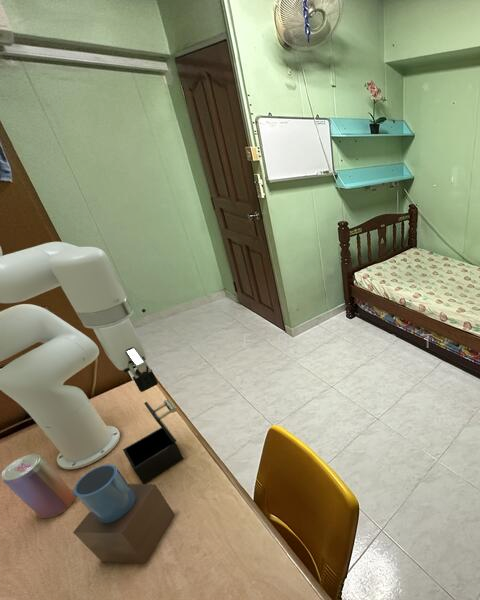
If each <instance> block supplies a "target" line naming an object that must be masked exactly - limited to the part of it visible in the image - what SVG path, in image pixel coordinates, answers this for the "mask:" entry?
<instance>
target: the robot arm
mask: <svg viewBox="0 0 480 600" xmlns="http://www.w3.org/2000/svg"><path fill="white" fill-rule="evenodd" d="M58 287H61V289H62V292H64V294H65V296H66V298H67V299H68V301H69V303H70V305H71V306H72V308H73V310H74V312H75V313H76V315H77V317H78V318H79V320H80V322H81V324H82V325H83V327H84V328H87V329H92V330H93V332H94V334H95V335H96V338H97V339H98V341H99V343H100V345H101V347H102V349H103V351H104V353H105V354H106V356H107V358H108V359H109V360H110V362H111V363H112V364H113V365H114V366H115V367H116V369H118V371H123V372H124V373H128V372H130V373H131V374H132V379H133V381H134V383H135V385H136V387H137V388H138V390H139V392H140V393H144V392H145V391H148V390H149V389H152V388H153V387H156V386H157V385H158V384H159V382H158V380H157V378H156V375H155V373H154V372H153V370H152V369H151V367H150V366H149V364H148V363H147V361H146V360H147V359H148V355H147V352H146V351H145V348H144V345H143V343H142V341H141V339H140V337H139V335H138V333H137V331H136V328H135V327H134V325H133V322H132V321H131V319H130V317H132V315H133V314H134V309H133V308H132V305H131V303H130V301H129V299H128V297H127V295H126V292H125V290H124V288H123V286H122V284H121V282H120V280H119V278H118V276H117V274H116V271H115V269H114V267H113V265H112V263H111V261H110V259H109V256H108V255H107V254H106V252H105V251H104V250H103V249H101V248H99V247H96V246H77V245H74V244H71V243H68V242H65V241H64V242H63V241H51V242H45V243H42V244H38V245H36V246H32V247H28V248H25V249H22V250H17V251H13V252H11V253H7V254H4V255H3V250H2V247H1V246H0V304H15V303H17V304H16V305H14V306H11V307H8V308H5V309H3V310H0V362H4V361H5V360H7V359H9V358H11V357H13V356H14V355H17V354H19V353H20V352H23V351H24V350H26V349H28V348H29V347H31V346H34V345H36V344H37V343H42V344H41V345H39V346H38V347H35V348H33V349H31V350H29V351H28V352H25V353H24V354H22V355H20V356H19V357H17V358H15V359H13V360H11V361H10V362H9V363H7V364H6V365H4V366H3V367H2V368H0V391H1V392H2V393H4V394H5V395H6V396H8V397H9V398H11V399H12V400H13V401H15V402H16V403H17V404H18V405H19V406H20V407H21V408H23V409H24V410H25V412H27V414H28V415H29V416H30V417H31V419H32V420H33V421H34V422H35V423H36V424H37V426H38V427H39V428H40V429H41V431H42V432H43V433H44V434H45V436H46V437H47V438H48V439H49V440H50V441H51V443H52V444H53V445H54V446H55V447H56V449H57V450H58V451H59V453H58V454H57V457H56V463H57V466H59V467H60V468H61V469H64V470H77V469H81V468H84V467H87V466H90V465H91V464H94V463H96V462H97V461H99V460H100V459H102V458H104V457H105V456H106V455H108V454H109V453H110V452H111V451H112V450H113V449H114V448H115V447H116V446H117V444H118V443H119V441H120V438H121V432H120V431H119V429H118V428H117V427H115V426H113V425H107V424H106V423H105V422H104V420H103V418H102V417H101V416H100V414H99V413H98V411H97V410H96V408H95V407H94V405H93V404H92V402H91V400H90V399H89V398H88V396H87V394H86V393H85V392H84V391H83V390H82V388H79V386H74V385H67V384H65V382H66V381H67V380H70V379H71V378H72V377H73V376H74V375H76V374H77V373H79V372H80V371H82V370H83V369H85V368H86V367H87V366H89V365H90V364H92V363H93V362H94V361H95V360H96V359H97V358H98V357H99V355H100V349H99V347H98V345H97V344H96V343H95V342H94V340H92V339H91V338H90V337H89V336H87V334H84V333H83V332H82V331H80V330H78V329H77V328H75V327H74V326H72V325H71V324H70V323H68V322H67V321H65V320H63V319H62V318H61V317H59V316H57V315H56V314H54V313H53V312H51V311H50V310H48V309H47V308H45V307H42V306H40V305H37V304H36V305H35V304H31V303H22V304H18V303H21V302H25V301H28V300H29V299H32V298H35V297H37V296H39V295H41V294H44V293H46V292H49V291H51V290H53V289H56V288H58Z"/></svg>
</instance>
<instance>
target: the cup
mask: <svg viewBox="0 0 480 600" xmlns="http://www.w3.org/2000/svg"><path fill="white" fill-rule="evenodd" d="M128 484H129V483H128V482H127V480H126V479H125V478H124V476H123V474H122V473H121V472H120V470H119V469H118V468H117V466H116V465H114V464H111V463H110V464H101V465H99V466H97V467H94V468H93V469H91V470H89V471H88V472H86V473H85V474H83V475H82V476H81V478H79V479H78V481H77V482H76V483H75V485H74V487H73V492H74V497H76V498H77V499H78V501H79V502H80V503H81V504H82V505H83V506H84V507H85V508H86V510H87V511H88V513H89V512H90V513H91V514H92V515H93V516H94V517H95V519H96V520H97V521H98V522H100V523H110V522H113V521H115V520H117V519H119V518H121V517H122V516H123V515H125V514H126V513H127V512H128V511H129V510H130V509H131V507H132V506H133V504H134V502H135V499H136V495H135V493H134V492H133V490H132V489H131V487H130V486H129V485H128Z"/></svg>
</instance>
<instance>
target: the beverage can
mask: <svg viewBox="0 0 480 600" xmlns="http://www.w3.org/2000/svg"><path fill="white" fill-rule="evenodd" d="M0 478H1V480H2V482H3V483H4V484H5V485H6V487H8V488H9V489H10V490H11V491H12V492H13V493H14V494H15V495H16V496H17V497H18V498H19V499H20V500H21V501H23V503H24V504H26V505H27V506H28V507H29V509H31V510H32V511H33V512H34V513H35V514H36V515H37V516H38V517H39V518H41V519H49V518H54V517H56V516H58V515H60V514H62V513H63V512H64V511H66V510H67V509H68V508H69V507H70V506H71V505H72V503H74V500H75V494H74V490H72V489H71V487H70V486H69V485H68V484H67V483H66V482H65V480H64V479H63V478H62V477H61V476H60V475H59V474H58V472H57V471H56V470H55V469H54V468H53V467H52V466H51V464H50V463H48V461H47V460H46V459H45V458H44V457H43V456H41V455H39V454H37V453H31V454H27V455H24V456H21V457H19V458H18V459H16V460H13V462H11V463H10V464H8V465H7V466H5V468H3V471H2V472H1V474H0Z"/></svg>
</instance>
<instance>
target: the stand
mask: <svg viewBox="0 0 480 600" xmlns="http://www.w3.org/2000/svg"><path fill="white" fill-rule="evenodd" d="M128 485H129V486H130V487H131V489H132V490H133V492H134V493H135V495H136V499H135V502H134V504H133V506H132V507H131V509H130V510H129V511H128V512H127V513H126V514H125V515H123V516H122V517H121V518H119V519H117V520H115V521H113V522H110V523H100V522H98V521H97V520H96V519H95V517H94V516H93V515H92V514H91V513H90V512H89V511H88V513H87V514H86V516H84V517H83V519H82V521H81V522H80V523H79V524H78V525H77V527H76V528H75V529H74V530H73V532H72V533H73V534H74V536H76V537H77V538H78V539H79V541H80V542H82V543H83V544H84V546H86V547H87V549H88V550H90V551H91V553H93V555H94V556H95V557H96V558H98V560H99V561H100V562H101V563H119V564H120V563H121V564H122V563H123V564H125V563H128V564H132V563H133V564H147V563H148V561H149V559H150V558H151V556H152V554H153V553H154V551H155V549H156V547H157V546H158V545H159V542H160V541H161V540H162V537H163V535H164V534H165V533H166V530H168V528H169V526H170V524H171V522H172V520H173V519H174V517H175V515H176V514H175V513H174V511H173V509H172V508H171V506H170V505H169V503H168V502H167V500H166V499H165V497H164V495H163V494H162V492H161V491H160V489H159V487H158V485H157V484H156V483H147V484H143V483H128Z"/></svg>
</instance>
